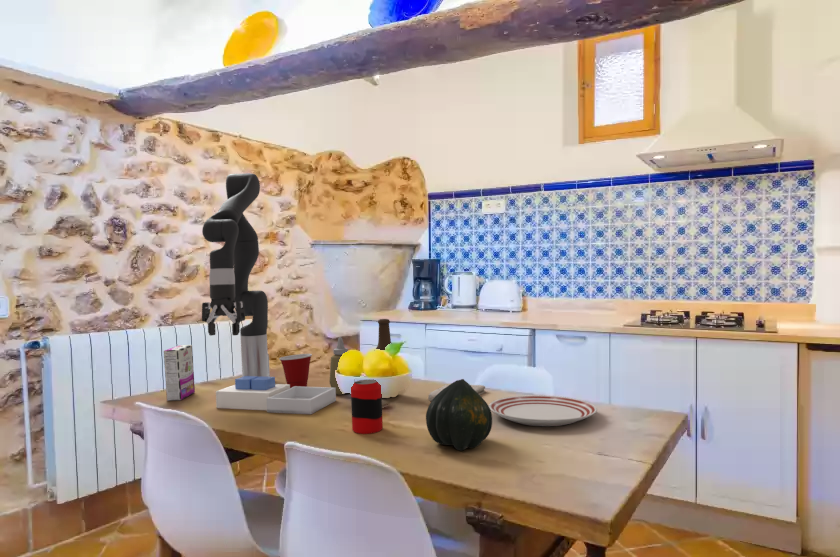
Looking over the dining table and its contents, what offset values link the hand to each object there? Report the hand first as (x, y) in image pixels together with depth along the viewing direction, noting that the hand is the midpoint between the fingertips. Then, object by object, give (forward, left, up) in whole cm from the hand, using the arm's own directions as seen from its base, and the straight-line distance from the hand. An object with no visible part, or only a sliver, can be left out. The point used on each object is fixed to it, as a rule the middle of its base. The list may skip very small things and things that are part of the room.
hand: (223, 335), depth 178 cm
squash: (+28, +81, -21) cm, 88 cm away
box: (+2, +28, -21) cm, 35 cm away
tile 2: (+2, +15, -16) cm, 22 cm away
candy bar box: (-3, -20, -21) cm, 29 cm away
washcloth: (-17, +70, -22) cm, 75 cm away
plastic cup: (-17, +15, -21) cm, 31 cm away
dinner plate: (+2, +97, -21) cm, 99 cm away
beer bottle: (-14, +48, -21) cm, 54 cm away
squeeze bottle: (-16, +32, -21) cm, 42 cm away
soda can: (+21, +56, -21) cm, 63 cm away
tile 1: (+2, +9, -16) cm, 18 cm away
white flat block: (+2, +11, -21) cm, 24 cm away
